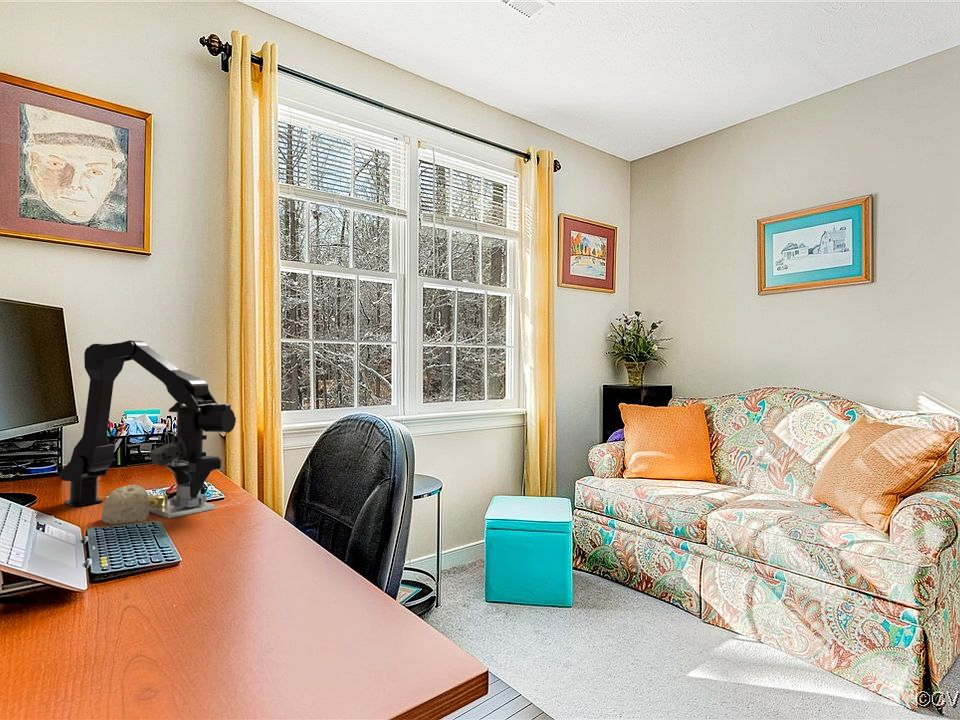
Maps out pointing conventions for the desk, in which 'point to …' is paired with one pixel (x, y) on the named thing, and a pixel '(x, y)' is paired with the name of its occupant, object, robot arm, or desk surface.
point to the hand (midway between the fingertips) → (188, 496)
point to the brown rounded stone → (126, 505)
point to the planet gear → (186, 497)
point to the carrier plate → (173, 507)
